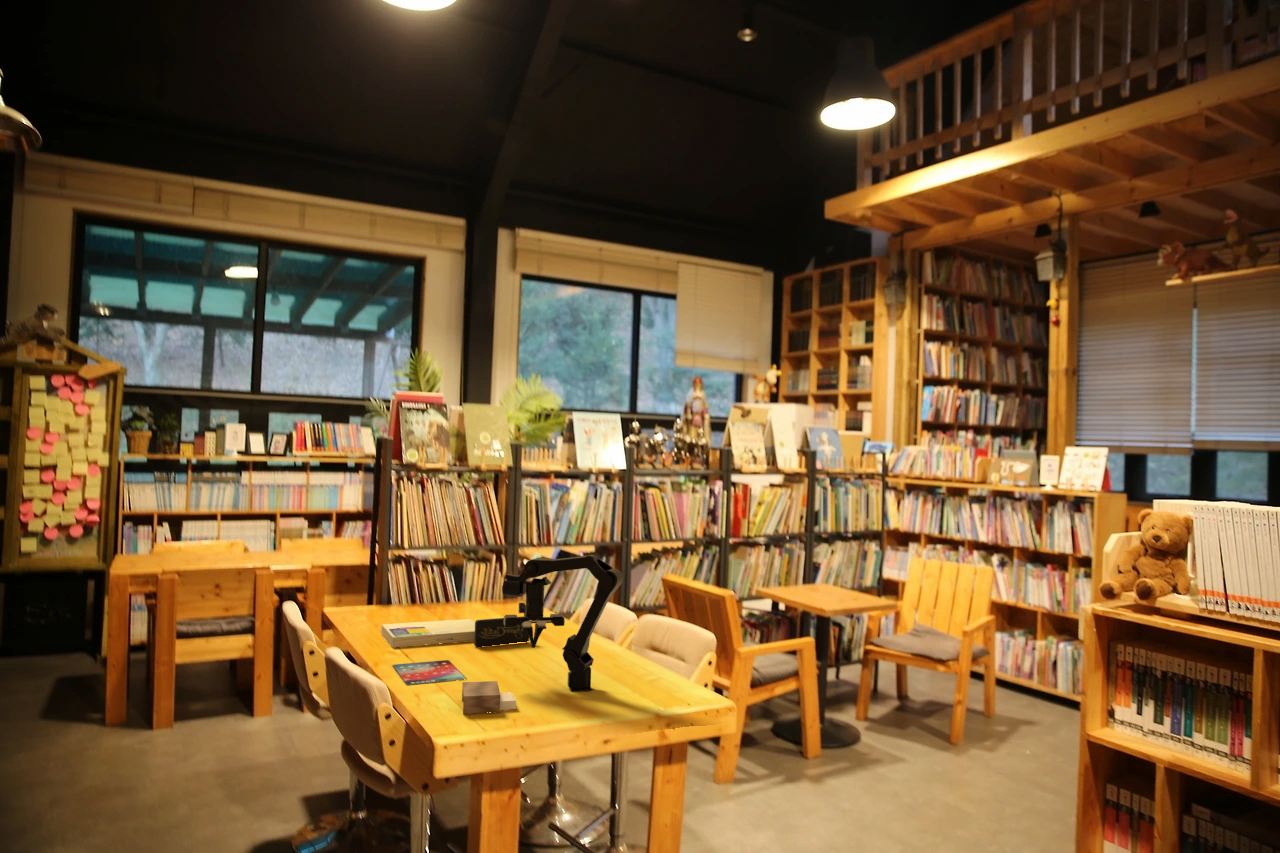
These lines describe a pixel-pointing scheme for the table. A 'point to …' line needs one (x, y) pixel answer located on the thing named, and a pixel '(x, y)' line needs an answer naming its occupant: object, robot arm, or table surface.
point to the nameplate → (498, 633)
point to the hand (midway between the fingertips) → (533, 647)
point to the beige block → (507, 701)
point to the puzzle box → (428, 632)
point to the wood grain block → (480, 697)
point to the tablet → (428, 672)
